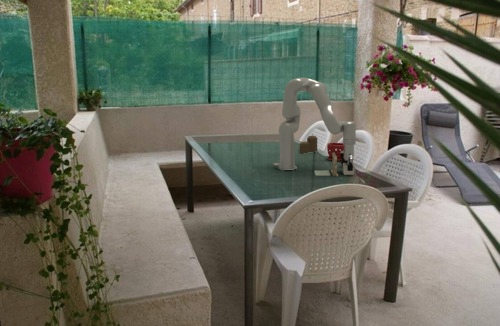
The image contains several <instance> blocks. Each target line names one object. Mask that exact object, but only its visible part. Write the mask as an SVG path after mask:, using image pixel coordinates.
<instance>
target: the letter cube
mask: <svg viewBox="0 0 500 326" xmlns="http://www.w3.org/2000/svg"><path fill="white" fill-rule="evenodd" d="M347 167H348V163H343V167H342V174H343V175H344V176H347V175H349V176H352V175H353V176H354V175H355V163H353V171H348V170H347Z"/></svg>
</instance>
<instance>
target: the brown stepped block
mask: <svg viewBox="0 0 500 326" xmlns="http://www.w3.org/2000/svg"><path fill="white" fill-rule="evenodd" d="M315 151H317V152H318V137H317V136H316V135H313V133H311V135H308V136H307V138H306V141H302V142H300V143H299V153H300V152H301V153H308V152H315Z"/></svg>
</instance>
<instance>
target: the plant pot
mask: <svg viewBox="0 0 500 326" xmlns="http://www.w3.org/2000/svg"><path fill="white" fill-rule="evenodd" d="M326 145H327V146H326V150H327V155H328V157H327V159H328V160H329V161H331V160H332V156H333V153H335V154H340V155H341V151H344V144H343V142H328V143H327V144H326ZM340 155H336V156H337V160H339V161H340V160H341V157H340ZM339 161H338V162H339ZM340 162H341V161H340Z"/></svg>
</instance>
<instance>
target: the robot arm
mask: <svg viewBox="0 0 500 326" xmlns="http://www.w3.org/2000/svg"><path fill="white" fill-rule="evenodd" d="M327 91H328V88H327V86H326V84H325V83H323V82H320V81H317V80H314V79H311V78H308V77H296V78H293V79H291V80H289V81H288V82H287V83H286V85H285V87H284V93H283V101H282V102H283V103H282V109H281V110H282V112H281V113H282V114H281V115H282V116H283V118H284V119H285V120H284V121H283V122H281V123H280V124H279V126H278V135H279V136H278V137H279V162H273V163H272V164H273V166H275V167H277V169H278V168H279V169H283V170H292V171H295V170H294V169H296V170H297V169H298V167H297V166H296V164H295V161H296V157H295V156H296V154H295V153H296V150H295V149H296V148H295V145H296V144H295V142H296V140H295V135H294V134H296V133H297V132H298V130H299V128H300V120H301V108H300V105H299V104H298V93H299V92H306V93H308V94H310V95H311V96H312V98H313V101H314V102H315V104H316V106H317V107H318V109H319V112H320V117H321V119H322V121H323V123H324V125H325V127H326V129H327V131H328V132H329V133H330V134H331V135H334V136H335V135H338V134H340V133H342V143H343V144H344V159H345V163H348V167H347V170H348V171H353V164H354V159H355V158H354V157H355V156H354V155H355V149H354V148H355V145H356V139H357V138H356V137H357V136H356V135H357V132H356V131H357V125H356V124H357V123H356V122H355V121H351V120H348V121H343V120H337V118H336V117H335V114H334V110H333V102H332V100H331V99H330V97H329V94H328V93H327ZM279 169H278V170H279ZM283 170H282V171H283Z"/></svg>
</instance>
